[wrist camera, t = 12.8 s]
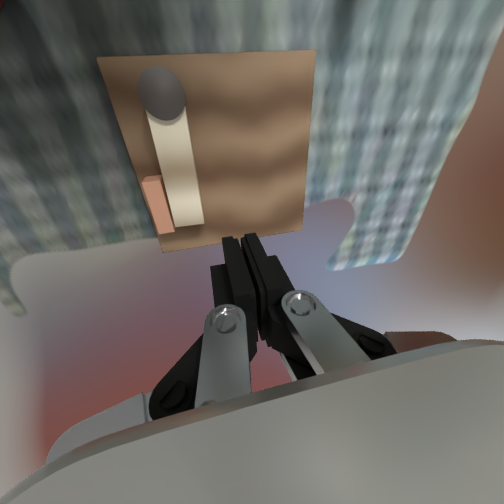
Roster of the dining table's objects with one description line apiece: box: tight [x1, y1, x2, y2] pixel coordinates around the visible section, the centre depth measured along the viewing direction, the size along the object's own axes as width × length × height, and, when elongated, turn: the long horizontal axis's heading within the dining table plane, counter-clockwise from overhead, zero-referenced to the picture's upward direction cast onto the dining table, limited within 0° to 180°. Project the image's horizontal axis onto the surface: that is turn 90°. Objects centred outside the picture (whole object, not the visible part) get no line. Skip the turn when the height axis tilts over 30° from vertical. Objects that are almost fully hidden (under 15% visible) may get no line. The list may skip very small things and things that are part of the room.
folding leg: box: [138, 66, 204, 227], centre depth 22 cm, size 14×4×4 cm, turn 2°
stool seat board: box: [96, 50, 316, 253], centre depth 26 cm, size 20×20×2 cm
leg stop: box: [142, 175, 175, 234], centre depth 25 cm, size 6×2×2 cm, turn 3°
